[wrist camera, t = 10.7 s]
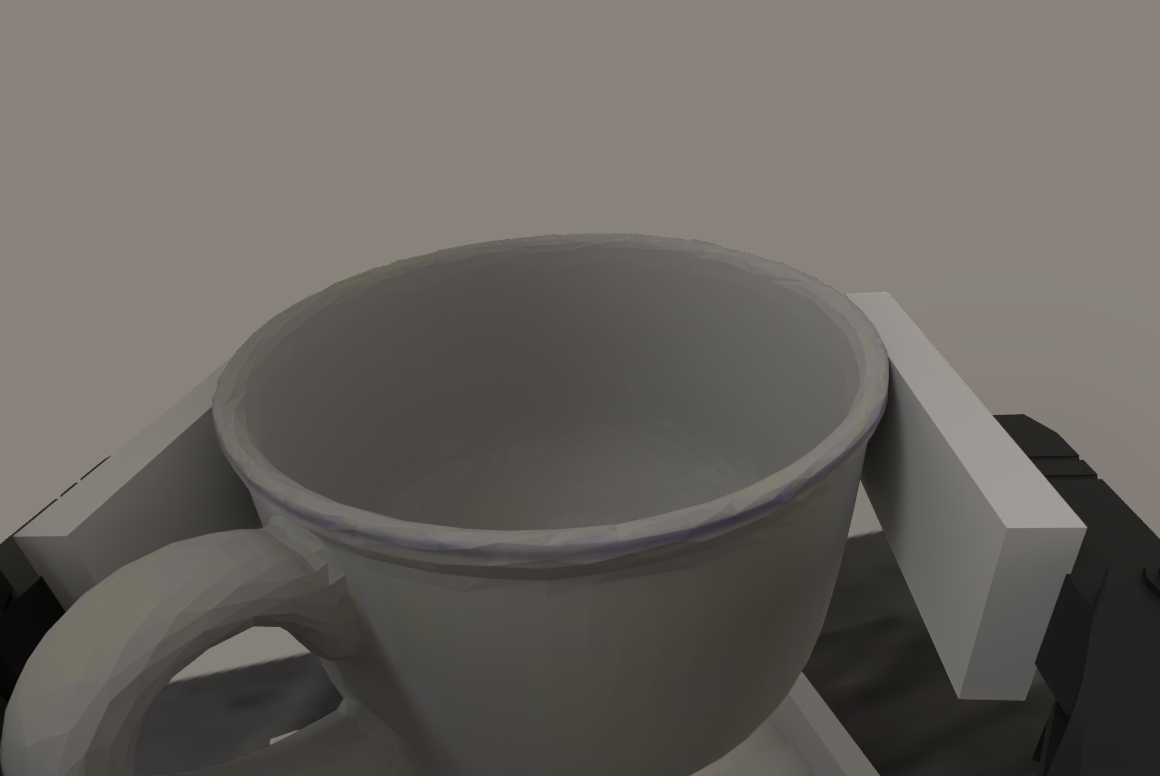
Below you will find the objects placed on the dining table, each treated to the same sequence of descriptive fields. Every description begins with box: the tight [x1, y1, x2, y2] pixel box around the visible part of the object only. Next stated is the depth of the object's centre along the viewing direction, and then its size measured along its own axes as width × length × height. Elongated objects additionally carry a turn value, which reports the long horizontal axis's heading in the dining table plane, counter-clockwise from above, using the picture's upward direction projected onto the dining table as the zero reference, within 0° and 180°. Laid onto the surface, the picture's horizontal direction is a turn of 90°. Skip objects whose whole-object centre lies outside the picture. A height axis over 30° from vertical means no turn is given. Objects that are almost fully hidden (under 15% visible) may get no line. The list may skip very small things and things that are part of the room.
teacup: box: [0, 234, 889, 776], centre depth 12 cm, size 14×11×8 cm
